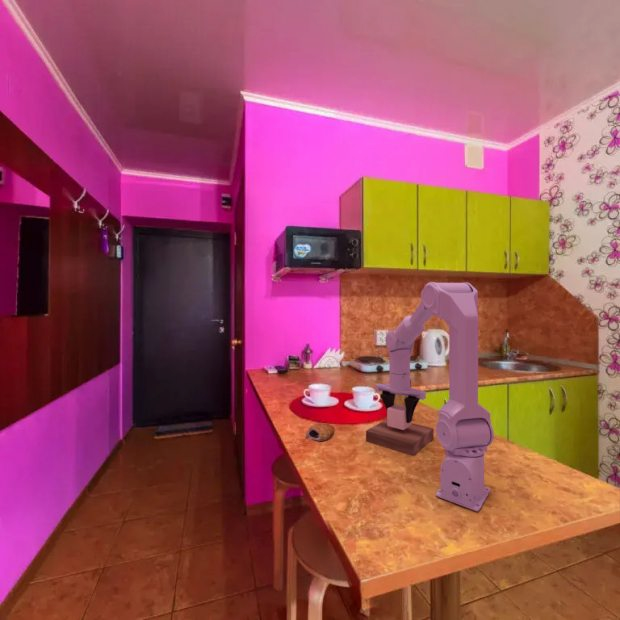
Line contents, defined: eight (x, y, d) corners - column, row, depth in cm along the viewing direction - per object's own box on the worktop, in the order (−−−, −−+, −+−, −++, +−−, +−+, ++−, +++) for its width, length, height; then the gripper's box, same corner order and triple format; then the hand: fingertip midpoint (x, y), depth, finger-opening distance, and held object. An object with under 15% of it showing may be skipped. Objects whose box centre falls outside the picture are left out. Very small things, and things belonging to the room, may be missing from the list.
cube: (403, 430, 90) (403, 412, 90) (387, 425, 93) (387, 408, 93) (411, 425, 93) (411, 407, 93) (395, 421, 97) (395, 404, 97)
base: (413, 455, 84) (412, 443, 84) (366, 441, 93) (365, 430, 93) (433, 438, 94) (433, 428, 94) (389, 427, 103) (389, 417, 103)
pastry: (322, 428, 103) (322, 416, 103) (340, 433, 99) (340, 421, 99) (303, 438, 96) (303, 425, 95) (322, 444, 91) (322, 430, 91)
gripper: (430, 373, 91) (430, 421, 92) (383, 367, 101) (383, 411, 101) (419, 377, 86) (420, 428, 86) (372, 371, 96) (372, 416, 96)
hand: (399, 419), depth 93 cm, fingers closed on cube, 5 cm apart
